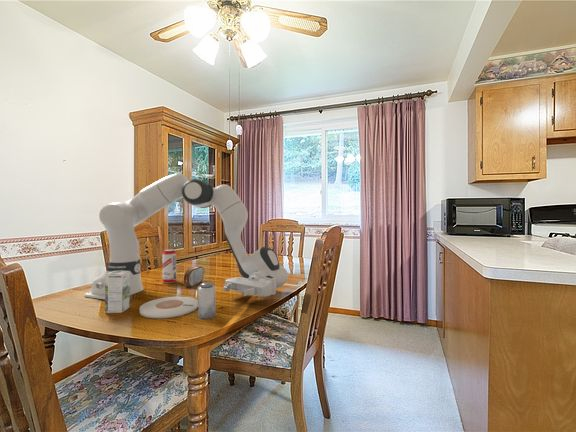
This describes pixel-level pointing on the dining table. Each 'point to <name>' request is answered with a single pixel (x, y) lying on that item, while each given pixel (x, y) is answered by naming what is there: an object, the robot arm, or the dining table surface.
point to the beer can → (169, 266)
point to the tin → (193, 276)
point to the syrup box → (117, 291)
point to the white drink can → (206, 300)
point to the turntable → (168, 307)
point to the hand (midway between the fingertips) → (233, 291)
